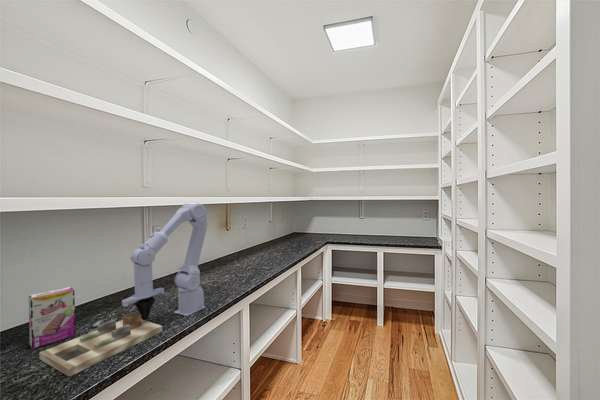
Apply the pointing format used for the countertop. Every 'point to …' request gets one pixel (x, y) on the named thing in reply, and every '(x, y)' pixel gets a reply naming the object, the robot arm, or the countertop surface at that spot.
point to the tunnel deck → (97, 345)
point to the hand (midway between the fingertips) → (145, 319)
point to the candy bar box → (51, 316)
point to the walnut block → (132, 320)
